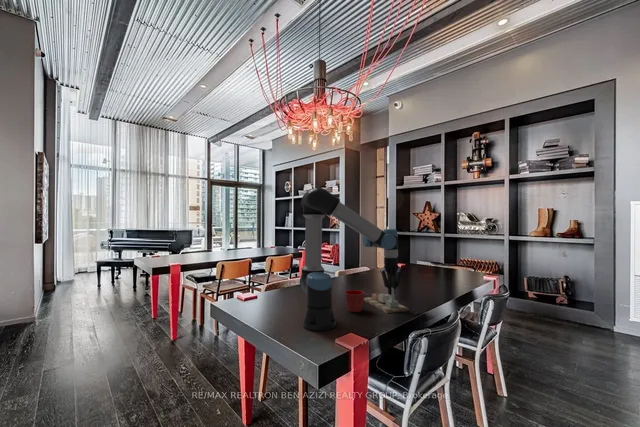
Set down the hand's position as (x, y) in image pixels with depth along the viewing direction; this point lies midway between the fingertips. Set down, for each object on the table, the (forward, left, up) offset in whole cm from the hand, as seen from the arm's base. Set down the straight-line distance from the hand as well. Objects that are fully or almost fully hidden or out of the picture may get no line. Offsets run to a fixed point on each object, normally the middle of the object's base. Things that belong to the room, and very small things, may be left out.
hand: (391, 300), depth 156 cm
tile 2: (0, 0, -4) cm, 4 cm away
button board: (+8, 0, -5) cm, 9 cm away
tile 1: (+8, 0, -3) cm, 8 cm away
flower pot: (+5, +20, -5) cm, 21 cm away
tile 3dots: (+16, 0, -4) cm, 16 cm away
